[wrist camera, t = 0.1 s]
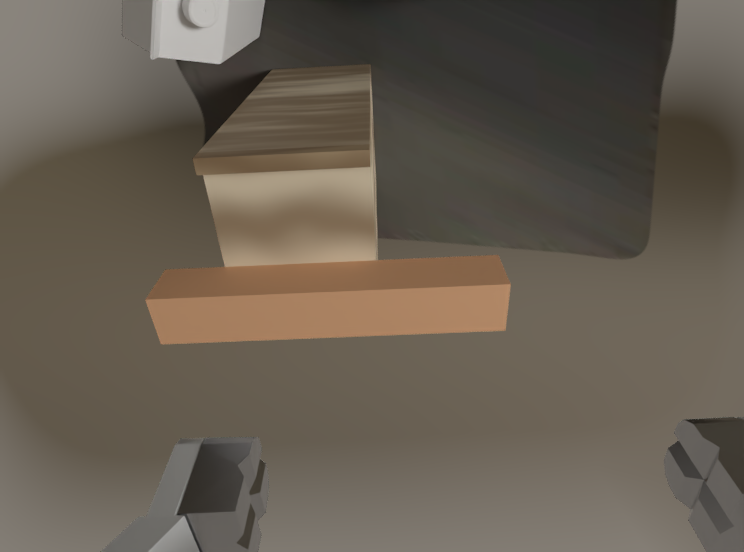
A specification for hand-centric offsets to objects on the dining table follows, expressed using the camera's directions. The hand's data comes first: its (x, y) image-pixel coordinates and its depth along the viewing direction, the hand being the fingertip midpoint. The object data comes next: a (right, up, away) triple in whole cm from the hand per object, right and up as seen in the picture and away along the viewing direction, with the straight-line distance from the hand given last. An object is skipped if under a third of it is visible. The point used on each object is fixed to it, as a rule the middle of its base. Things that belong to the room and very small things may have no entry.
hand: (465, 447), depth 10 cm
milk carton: (-15, +31, +38) cm, 51 cm away
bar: (-4, +3, +24) cm, 25 cm away
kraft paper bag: (-7, +19, +45) cm, 49 cm away
